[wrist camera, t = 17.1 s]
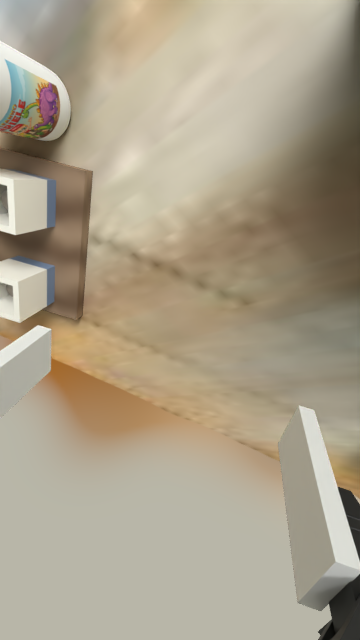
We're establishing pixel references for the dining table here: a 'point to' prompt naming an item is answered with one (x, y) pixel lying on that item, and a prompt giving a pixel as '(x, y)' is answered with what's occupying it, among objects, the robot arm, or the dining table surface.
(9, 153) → the pin board
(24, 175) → the seated sleeve
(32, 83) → the milk bottle
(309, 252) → the dining table surface
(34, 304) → the white sleeve
